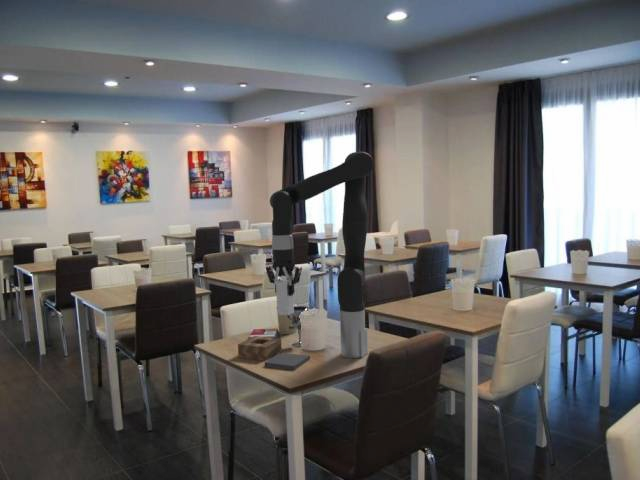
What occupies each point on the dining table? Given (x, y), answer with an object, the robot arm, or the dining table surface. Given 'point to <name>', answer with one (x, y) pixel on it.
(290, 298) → the peg
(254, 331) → the calculator
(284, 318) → the coffee cup
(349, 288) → the robot arm
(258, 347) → the socket block
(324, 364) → the dining table surface
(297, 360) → the mat
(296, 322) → the wine glass
